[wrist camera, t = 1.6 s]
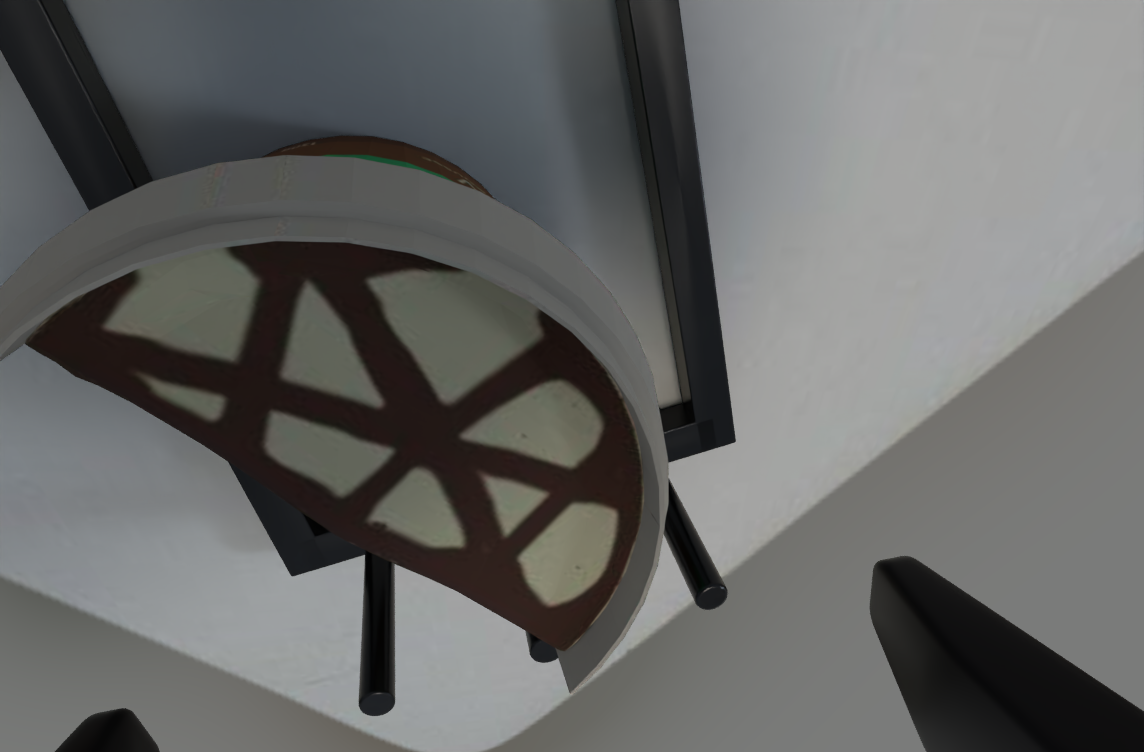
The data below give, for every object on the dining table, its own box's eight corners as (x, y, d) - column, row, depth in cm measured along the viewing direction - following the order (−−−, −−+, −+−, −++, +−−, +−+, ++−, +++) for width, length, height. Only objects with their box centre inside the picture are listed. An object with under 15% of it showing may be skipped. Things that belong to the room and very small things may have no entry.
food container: (663, 296, 23) (829, 505, 14) (519, 436, 24) (591, 706, 16) (309, -46, 17) (229, -41, 9) (145, 162, 18) (-70, 348, 10)
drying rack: (295, 551, 24) (259, 774, 18) (-35, -63, 16) (-342, -73, 9) (722, 422, 25) (838, 588, 19) (633, -224, 17) (791, -336, 10)
